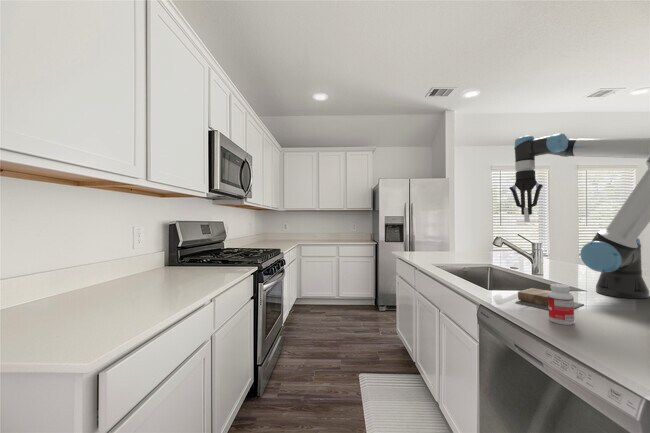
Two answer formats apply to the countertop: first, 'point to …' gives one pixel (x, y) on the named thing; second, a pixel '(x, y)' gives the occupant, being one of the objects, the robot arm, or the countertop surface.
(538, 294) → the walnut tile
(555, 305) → the pill bottle
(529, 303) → the dark grey rubber mat
